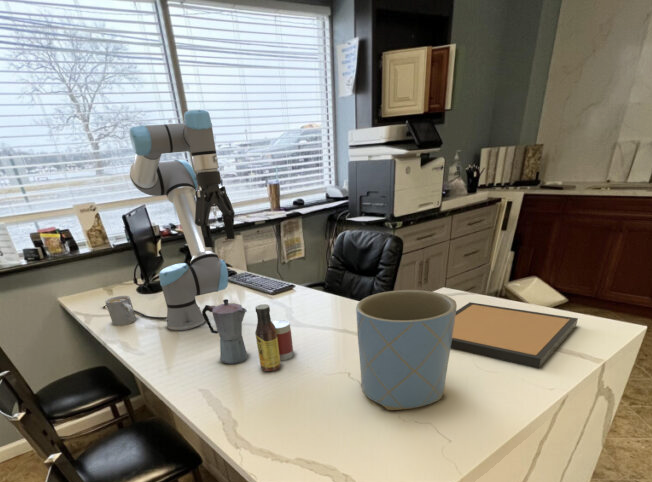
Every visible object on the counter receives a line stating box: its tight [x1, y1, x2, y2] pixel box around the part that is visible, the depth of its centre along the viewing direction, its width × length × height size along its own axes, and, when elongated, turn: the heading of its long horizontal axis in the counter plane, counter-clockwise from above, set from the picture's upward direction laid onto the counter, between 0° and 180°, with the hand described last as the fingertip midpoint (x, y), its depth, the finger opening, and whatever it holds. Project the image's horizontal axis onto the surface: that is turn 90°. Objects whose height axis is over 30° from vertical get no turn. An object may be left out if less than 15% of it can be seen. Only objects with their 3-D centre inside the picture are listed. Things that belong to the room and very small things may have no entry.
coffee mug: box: [105, 295, 137, 326], centre depth 176 cm, size 13×10×10 cm
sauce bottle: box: [255, 303, 281, 372], centre depth 121 cm, size 6×6×20 cm
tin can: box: [271, 319, 294, 361], centre depth 130 cm, size 7×7×11 cm
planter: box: [355, 289, 458, 411], centre depth 101 cm, size 23×23×24 cm
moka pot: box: [201, 299, 248, 365], centre depth 130 cm, size 10×15×20 cm, turn 79°
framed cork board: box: [450, 301, 579, 369], centre depth 132 cm, size 36×3×35 cm
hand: (220, 242), depth 138 cm, fingers open, 13 cm apart
